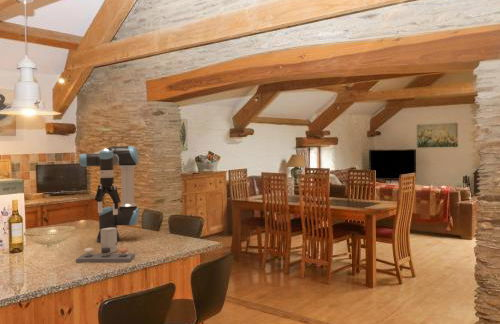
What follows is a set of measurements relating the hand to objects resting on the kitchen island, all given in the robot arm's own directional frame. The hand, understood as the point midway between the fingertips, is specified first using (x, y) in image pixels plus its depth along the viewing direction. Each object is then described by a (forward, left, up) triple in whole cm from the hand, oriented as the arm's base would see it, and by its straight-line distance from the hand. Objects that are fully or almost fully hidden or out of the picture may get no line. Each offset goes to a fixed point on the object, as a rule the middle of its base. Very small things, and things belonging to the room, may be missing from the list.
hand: (107, 213), depth 266 cm
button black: (+4, 0, -24) cm, 25 cm away
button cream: (+4, -10, -24) cm, 27 cm away
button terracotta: (+4, +10, -24) cm, 27 cm away
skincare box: (-14, -4, -26) cm, 30 cm away
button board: (+4, 0, -26) cm, 26 cm away
